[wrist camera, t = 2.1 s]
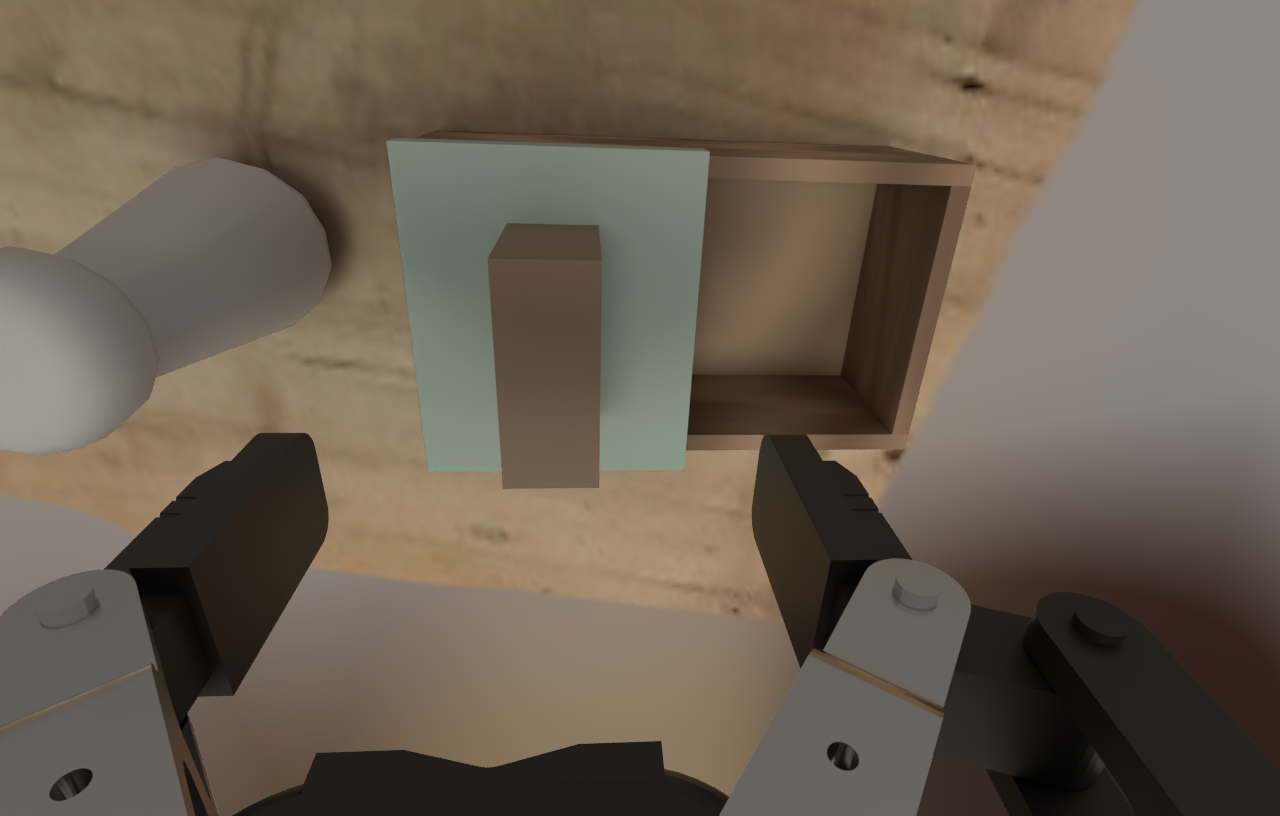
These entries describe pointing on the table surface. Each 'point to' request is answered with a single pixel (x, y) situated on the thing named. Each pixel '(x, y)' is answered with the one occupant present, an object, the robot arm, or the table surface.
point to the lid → (551, 303)
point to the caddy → (811, 286)
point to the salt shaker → (150, 299)
